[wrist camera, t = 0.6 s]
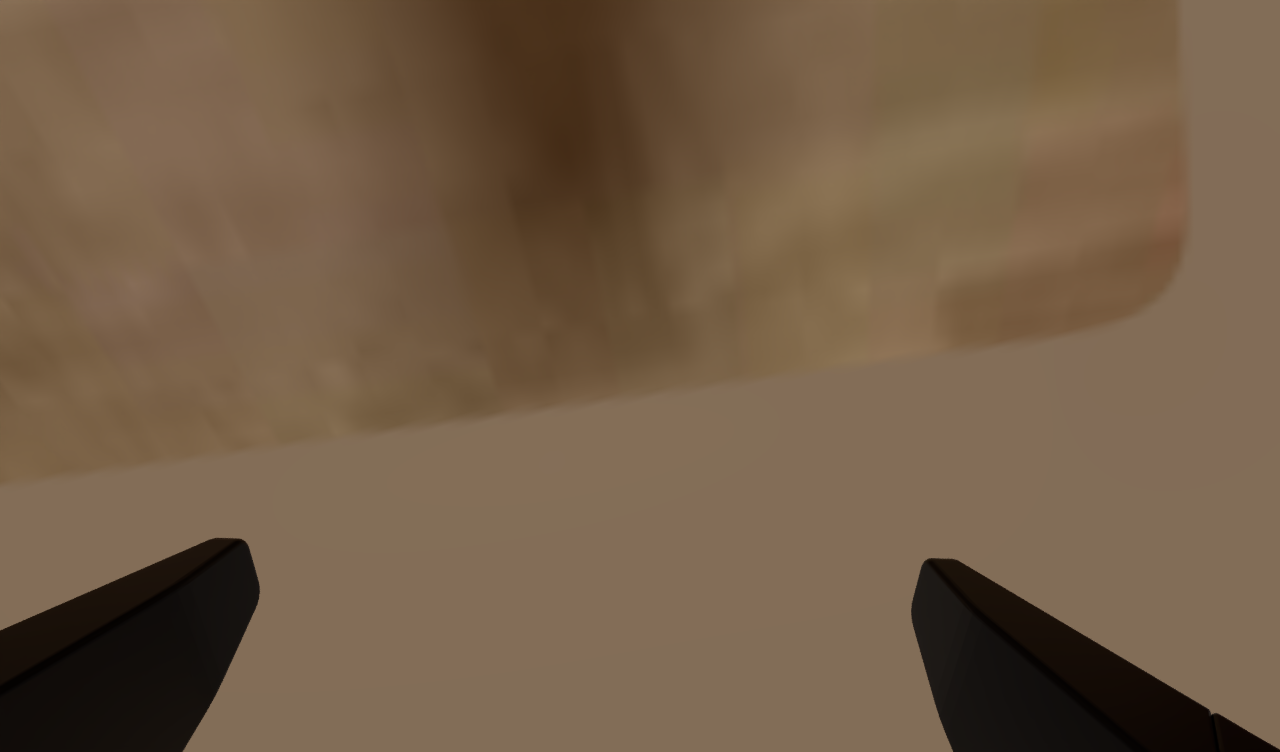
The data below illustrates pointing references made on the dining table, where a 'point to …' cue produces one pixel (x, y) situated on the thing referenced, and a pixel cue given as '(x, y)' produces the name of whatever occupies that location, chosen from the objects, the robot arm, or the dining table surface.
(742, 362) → the dining table surface
